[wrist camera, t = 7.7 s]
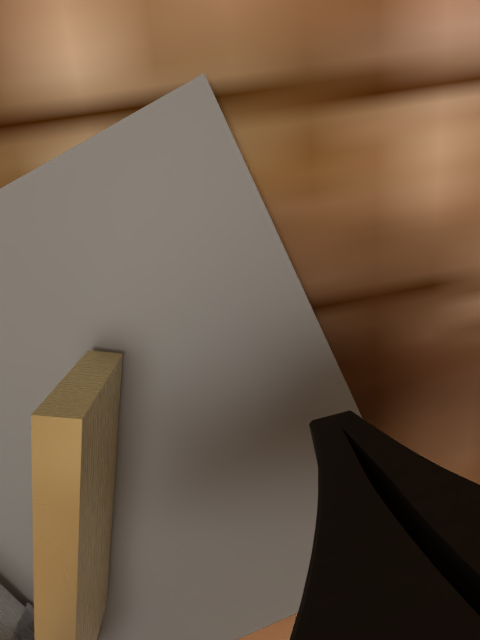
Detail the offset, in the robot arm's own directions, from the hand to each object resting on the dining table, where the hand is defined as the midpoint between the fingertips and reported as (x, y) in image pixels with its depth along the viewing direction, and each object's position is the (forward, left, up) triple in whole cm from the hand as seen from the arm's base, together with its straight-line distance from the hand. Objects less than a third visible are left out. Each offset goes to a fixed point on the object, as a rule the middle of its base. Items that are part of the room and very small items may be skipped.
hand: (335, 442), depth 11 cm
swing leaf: (+1, +9, -1) cm, 10 cm away
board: (+1, +8, -2) cm, 9 cm away
